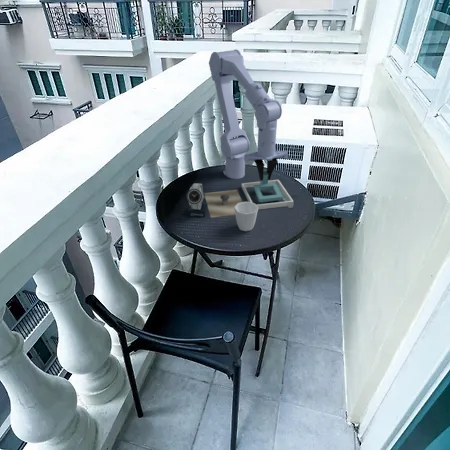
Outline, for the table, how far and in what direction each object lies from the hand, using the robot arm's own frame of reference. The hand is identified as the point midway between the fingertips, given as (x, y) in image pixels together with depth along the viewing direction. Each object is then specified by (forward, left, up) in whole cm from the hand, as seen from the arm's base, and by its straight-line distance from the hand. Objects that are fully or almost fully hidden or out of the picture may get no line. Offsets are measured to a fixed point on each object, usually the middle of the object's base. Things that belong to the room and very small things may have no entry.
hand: (264, 178), depth 114 cm
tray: (+3, 0, -6) cm, 7 cm away
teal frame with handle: (+4, 0, -4) cm, 6 cm away
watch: (+9, -25, -6) cm, 27 cm away
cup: (+18, -11, -6) cm, 22 cm away
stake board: (+4, -15, -6) cm, 17 cm away
